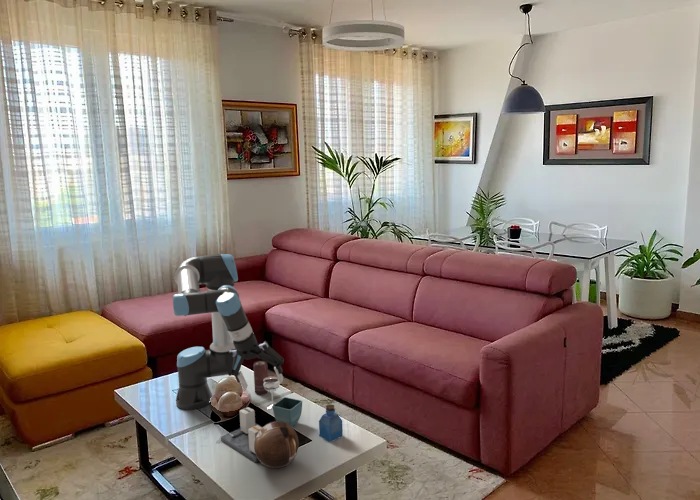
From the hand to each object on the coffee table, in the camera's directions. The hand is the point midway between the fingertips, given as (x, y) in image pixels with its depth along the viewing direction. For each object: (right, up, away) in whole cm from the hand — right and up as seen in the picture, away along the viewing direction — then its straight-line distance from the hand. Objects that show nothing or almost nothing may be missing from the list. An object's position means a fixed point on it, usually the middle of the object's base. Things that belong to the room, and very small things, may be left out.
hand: (263, 384), depth 193 cm
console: (-5, -24, +9) cm, 26 cm away
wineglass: (-2, -19, +37) cm, 42 cm away
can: (-9, -16, +51) cm, 55 cm away
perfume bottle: (+23, -23, +13) cm, 35 cm away
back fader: (-8, -21, +14) cm, 27 cm away
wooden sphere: (+6, -26, -5) cm, 27 cm away
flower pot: (+6, -21, +22) cm, 31 cm away
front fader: (-2, -23, +1) cm, 23 cm away
